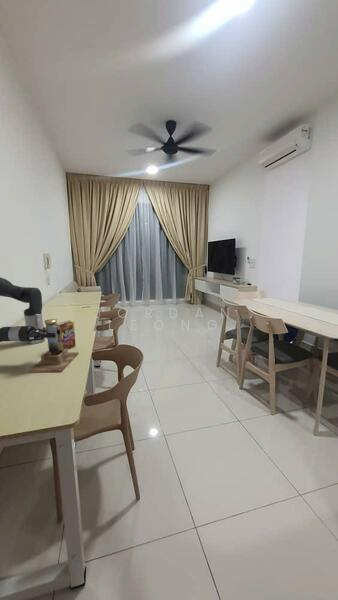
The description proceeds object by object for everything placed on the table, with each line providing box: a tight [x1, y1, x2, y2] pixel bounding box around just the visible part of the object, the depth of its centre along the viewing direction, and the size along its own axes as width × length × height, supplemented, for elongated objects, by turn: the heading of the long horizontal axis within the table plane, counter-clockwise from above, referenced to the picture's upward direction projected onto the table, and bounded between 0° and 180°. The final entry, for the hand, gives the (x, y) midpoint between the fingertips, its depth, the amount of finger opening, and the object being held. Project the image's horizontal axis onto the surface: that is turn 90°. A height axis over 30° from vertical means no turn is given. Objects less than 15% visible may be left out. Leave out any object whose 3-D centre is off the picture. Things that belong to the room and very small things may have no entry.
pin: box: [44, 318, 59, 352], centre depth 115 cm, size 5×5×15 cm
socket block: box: [28, 349, 80, 373], centre depth 117 cm, size 20×15×5 cm
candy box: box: [56, 319, 77, 350], centre depth 134 cm, size 9×4×15 cm, turn 144°
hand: (57, 333), depth 115 cm, fingers closed on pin, 4 cm apart
